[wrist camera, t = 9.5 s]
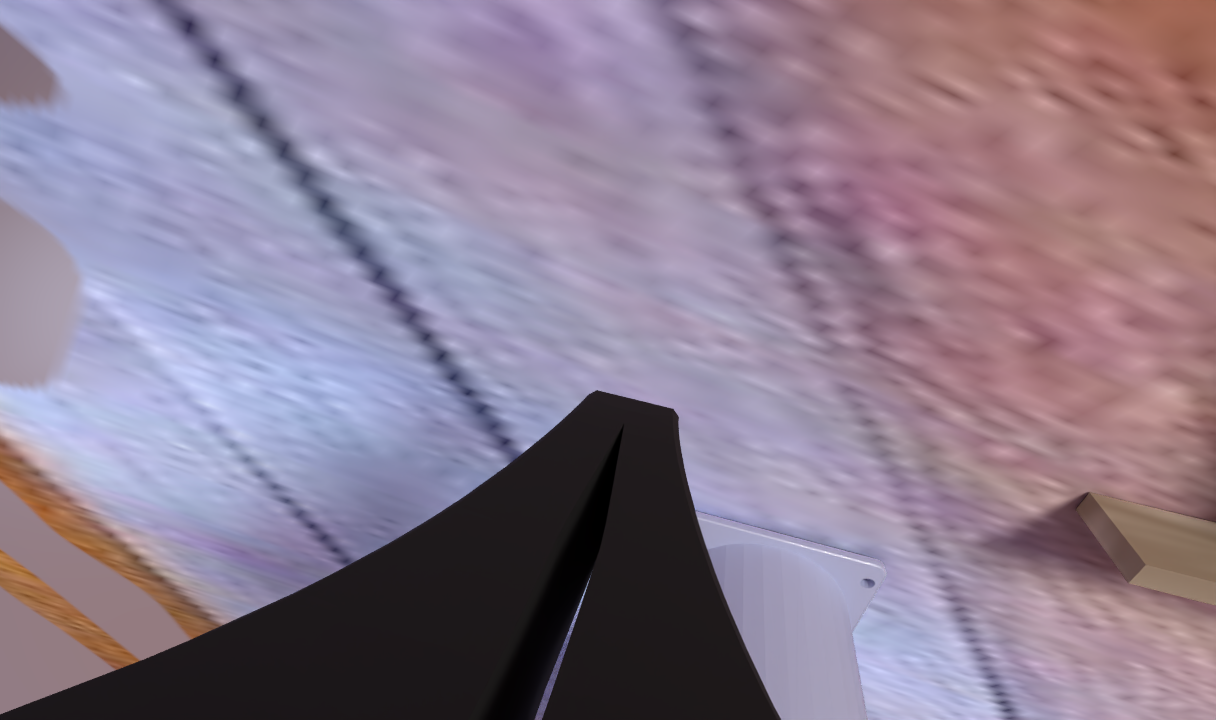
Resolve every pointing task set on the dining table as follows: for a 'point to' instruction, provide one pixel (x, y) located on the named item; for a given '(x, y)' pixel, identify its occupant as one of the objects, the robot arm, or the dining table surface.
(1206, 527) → the tray frame
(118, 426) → the dining table surface
